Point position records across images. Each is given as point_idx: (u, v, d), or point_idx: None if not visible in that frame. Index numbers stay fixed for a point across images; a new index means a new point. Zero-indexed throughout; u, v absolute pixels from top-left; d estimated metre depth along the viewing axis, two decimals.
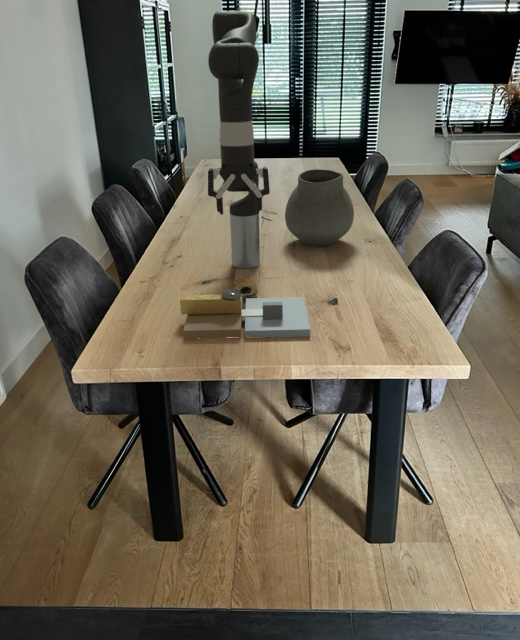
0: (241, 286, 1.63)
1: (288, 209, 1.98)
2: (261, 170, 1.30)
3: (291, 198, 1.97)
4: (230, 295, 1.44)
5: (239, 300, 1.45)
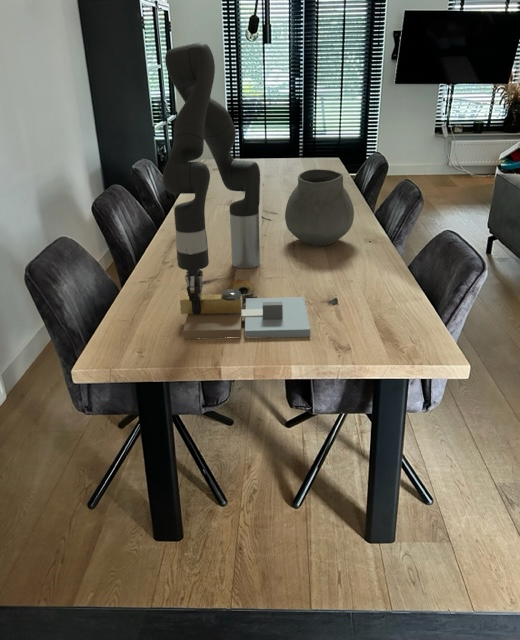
0: (239, 286, 1.62)
1: (288, 209, 1.98)
2: None
3: (291, 198, 1.97)
4: (230, 295, 1.44)
5: (239, 300, 1.45)
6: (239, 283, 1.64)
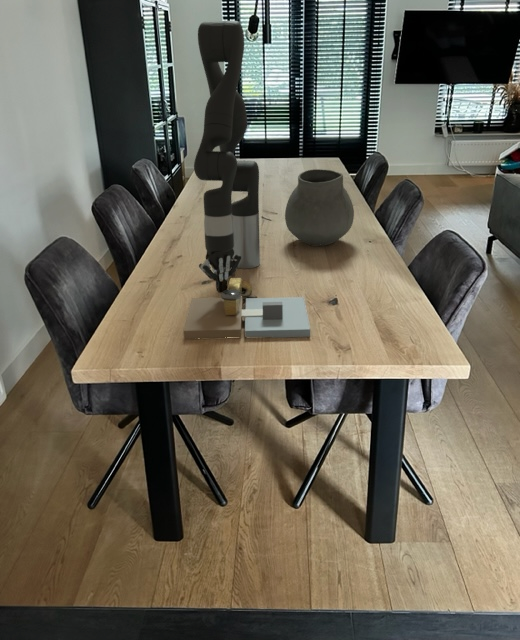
0: None
1: (288, 209, 1.98)
2: (235, 255, 1.54)
3: (291, 198, 1.97)
4: (224, 292, 1.46)
5: None
6: None
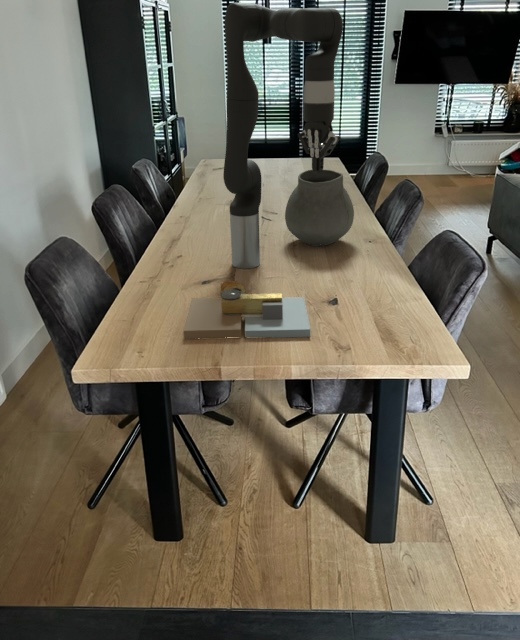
0: (231, 288, 1.61)
1: (288, 209, 1.98)
2: (331, 136, 1.40)
3: (291, 198, 1.97)
4: (231, 290, 1.47)
5: None
6: (230, 285, 1.63)
